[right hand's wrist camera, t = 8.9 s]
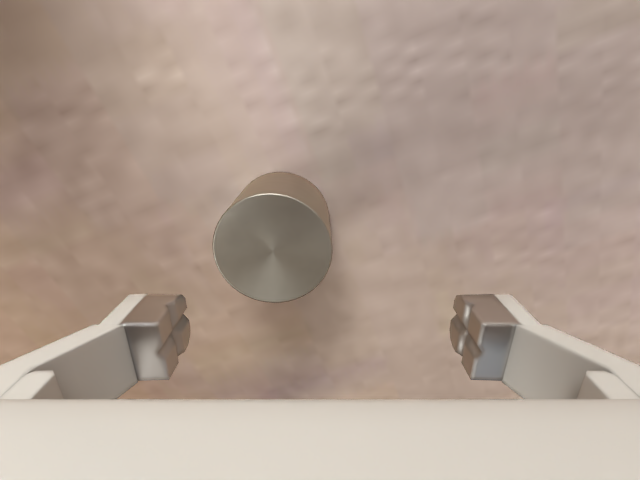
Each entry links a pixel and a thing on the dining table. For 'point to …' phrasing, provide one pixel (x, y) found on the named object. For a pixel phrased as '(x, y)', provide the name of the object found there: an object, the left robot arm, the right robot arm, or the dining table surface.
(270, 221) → the canister
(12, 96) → the dining table surface
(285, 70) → the dining table surface
